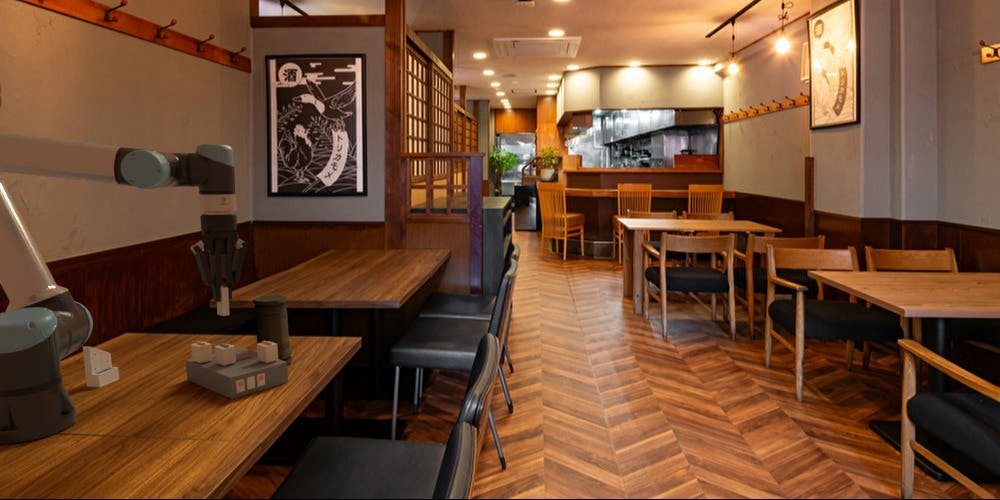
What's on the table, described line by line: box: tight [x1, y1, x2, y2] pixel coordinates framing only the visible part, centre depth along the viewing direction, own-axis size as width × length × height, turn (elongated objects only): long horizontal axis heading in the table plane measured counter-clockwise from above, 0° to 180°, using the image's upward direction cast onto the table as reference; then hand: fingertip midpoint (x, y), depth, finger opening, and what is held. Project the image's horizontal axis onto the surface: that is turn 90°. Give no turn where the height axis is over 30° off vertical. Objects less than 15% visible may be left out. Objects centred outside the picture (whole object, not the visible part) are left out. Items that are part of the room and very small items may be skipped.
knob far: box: [190, 340, 213, 363], centre depth 147 cm, size 3×4×4 cm
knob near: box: [256, 341, 278, 363], centre depth 146 cm, size 3×4×4 cm
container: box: [252, 294, 294, 366], centre depth 159 cm, size 9×9×18 cm
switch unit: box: [185, 346, 289, 400], centre depth 147 cm, size 14×22×5 cm, turn 51°
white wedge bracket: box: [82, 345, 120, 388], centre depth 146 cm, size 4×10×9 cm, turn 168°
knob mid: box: [214, 342, 236, 365], centre depth 145 cm, size 3×4×4 cm
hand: (223, 314), depth 140 cm, fingers closed
